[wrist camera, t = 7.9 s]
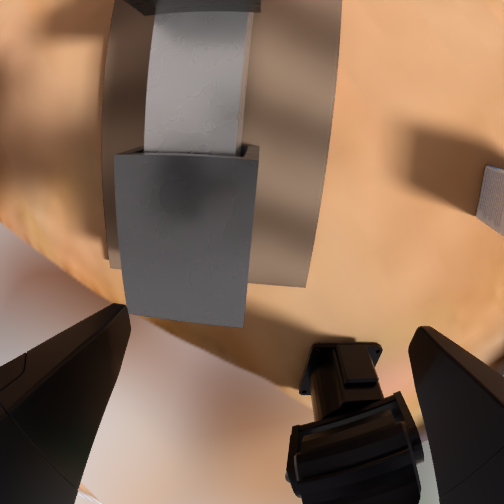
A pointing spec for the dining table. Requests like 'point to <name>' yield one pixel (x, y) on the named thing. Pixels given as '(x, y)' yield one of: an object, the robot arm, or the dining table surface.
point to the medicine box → (492, 199)
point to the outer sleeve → (186, 233)
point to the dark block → (197, 74)
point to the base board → (247, 124)
